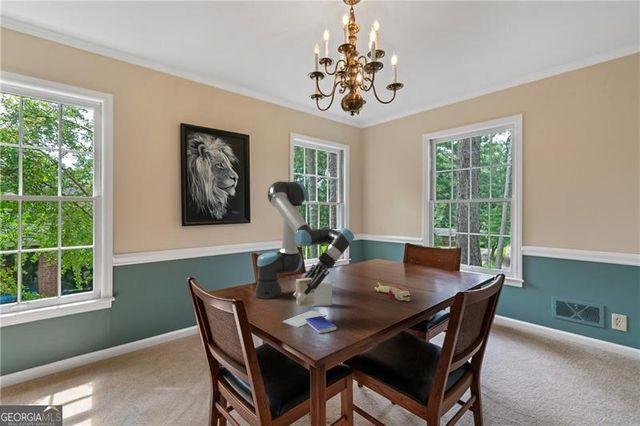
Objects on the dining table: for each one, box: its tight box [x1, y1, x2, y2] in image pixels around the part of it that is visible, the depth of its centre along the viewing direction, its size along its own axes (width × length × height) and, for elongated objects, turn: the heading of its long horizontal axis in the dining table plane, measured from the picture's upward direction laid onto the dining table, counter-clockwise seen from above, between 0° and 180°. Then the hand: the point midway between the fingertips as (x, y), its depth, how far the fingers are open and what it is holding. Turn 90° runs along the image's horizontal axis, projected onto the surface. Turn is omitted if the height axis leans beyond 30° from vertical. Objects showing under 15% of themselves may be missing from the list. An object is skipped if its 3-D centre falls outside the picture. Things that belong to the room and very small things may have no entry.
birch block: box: [295, 278, 315, 307], centre depth 133 cm, size 4×7×11 cm, turn 117°
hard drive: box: [305, 316, 337, 334], centre depth 125 cm, size 2×8×12 cm
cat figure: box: [373, 278, 412, 302], centre depth 165 cm, size 10×9×25 cm
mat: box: [282, 310, 327, 329], centre depth 134 cm, size 10×18×1 cm, turn 138°
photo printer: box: [312, 280, 333, 307], centre depth 152 cm, size 10×4×12 cm, turn 90°
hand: (297, 298), depth 131 cm, fingers closed on birch block, 4 cm apart
